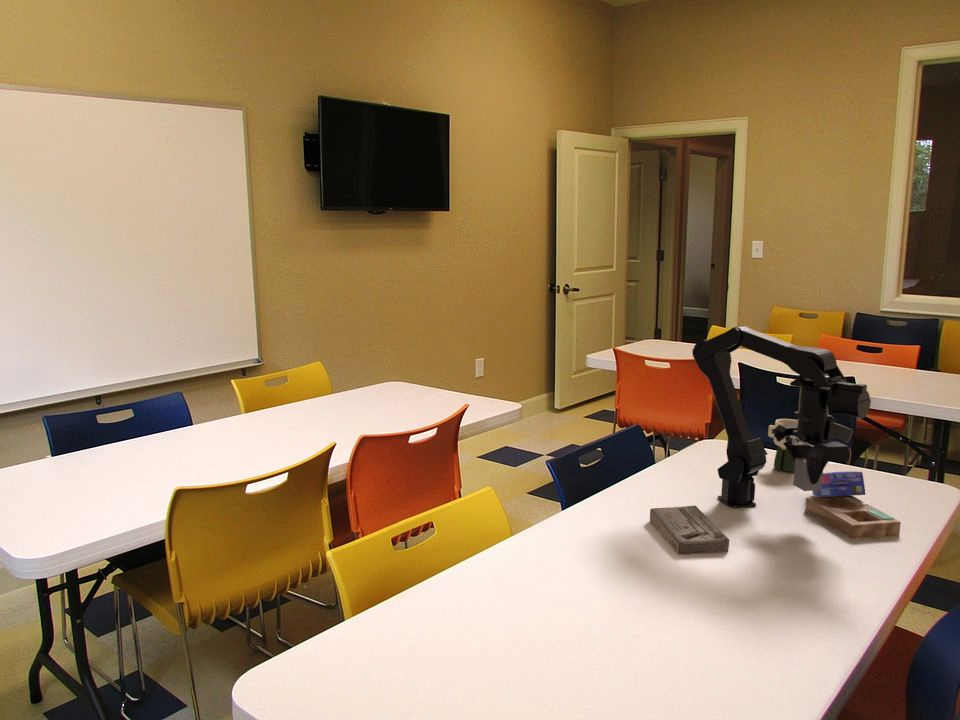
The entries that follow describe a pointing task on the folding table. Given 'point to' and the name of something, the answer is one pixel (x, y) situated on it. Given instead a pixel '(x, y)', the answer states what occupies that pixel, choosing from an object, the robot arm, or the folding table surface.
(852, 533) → the socket block
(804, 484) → the plug
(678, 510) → the box
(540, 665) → the folding table surface
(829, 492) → the ink cartridge box
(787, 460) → the character mug
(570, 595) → the folding table surface
